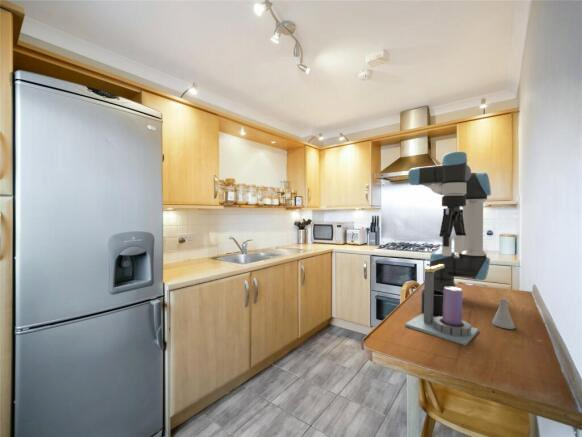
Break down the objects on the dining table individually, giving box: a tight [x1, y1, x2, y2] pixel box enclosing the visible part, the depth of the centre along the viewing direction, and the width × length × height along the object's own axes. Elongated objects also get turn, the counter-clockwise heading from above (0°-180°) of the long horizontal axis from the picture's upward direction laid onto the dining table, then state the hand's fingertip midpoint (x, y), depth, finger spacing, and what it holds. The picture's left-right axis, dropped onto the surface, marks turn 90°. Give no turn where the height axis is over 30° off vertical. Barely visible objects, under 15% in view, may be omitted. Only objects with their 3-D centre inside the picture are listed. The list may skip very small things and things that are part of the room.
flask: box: [491, 298, 516, 330], centre depth 103 cm, size 7×7×10 cm
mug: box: [420, 289, 443, 317], centre depth 115 cm, size 9×12×9 cm
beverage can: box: [442, 286, 464, 327], centre depth 96 cm, size 6×6×15 cm
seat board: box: [404, 272, 479, 346], centre depth 99 cm, size 16×20×20 cm
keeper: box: [423, 264, 445, 273], centre depth 106 cm, size 4×16×1 cm, turn 132°
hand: (452, 254), depth 96 cm, fingers open, 12 cm apart
